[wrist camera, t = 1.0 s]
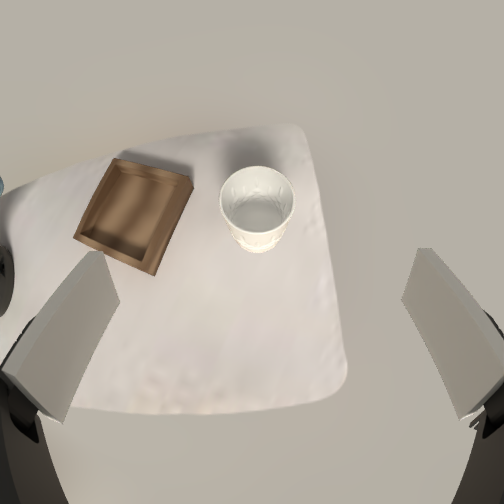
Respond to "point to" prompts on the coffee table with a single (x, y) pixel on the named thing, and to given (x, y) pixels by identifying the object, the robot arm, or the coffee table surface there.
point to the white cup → (257, 207)
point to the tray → (134, 213)
